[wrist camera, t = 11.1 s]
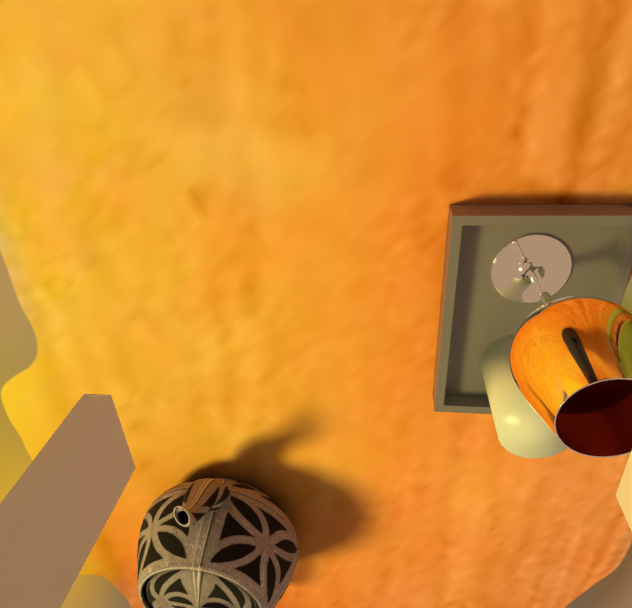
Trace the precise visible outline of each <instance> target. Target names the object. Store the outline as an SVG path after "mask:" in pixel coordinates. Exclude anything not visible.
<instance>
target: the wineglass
mask: <svg viewBox="0 0 632 608" xmlns="http://www.w3.org/2000/svg"><path fill="white" fill-rule="evenodd" d="M571 267H572V261H571V256H570V253H569V251H568V249H567V248H566V247H565V245H564V244H563V243H562V242H560V241H559V240H557V239H556V238H554V237H551V236H548V235H544V234H529V235H524V236H521V237H518V238H516V239H514V240H512V241H510V242H509V243H507V244H506V245H505V246H504V247H503V248H502V249H501V250H500V251H499V252H498V253H497V255H496V256H495V258H494V260H493V263H492V266H491V280H492V283H493V285H494V287H495V289H496V290H497V291H498V293H499V294H501V295H502V296H503V297H505V298H506V299H508V300H511V301H514V302H518V303H533V302H538V301H541V302H542V304H543V305H542V306H540V307H539V308H537V309H536V310H534V311H533V312H532V313H530V314H529V315H528V316H527V317H526V318H525V319H524V320H523V322H522V323H521V324H520V326H519V327H518V329H517V330H516V332H515V334H514V336H513V339H512V342H511V345H510V350H509V366H510V371H511V374H512V377H513V380H514V382H515V384H516V386H517V388H518V390H519V391H520V393H521V394H522V396H523V397H524V399H525V400H526V401H527V403H528V404H529V405H530V406H531V408H532V409H533V410H534V411H535V413H536V414H537V415H538V416H539V417H540V419H541V420H542V421H543V422H544V423H545V424H546V426H547V427H548V428H549V429H550V430H551V431H552V432H553V434H554V435H555V436H556V437H557V438H558V439H559V440H560V442H561V443H562V444H563V445H564V446H566V447H567V448H568V449H570V450H572V451H574V452H576V453H578V454H581V455H585V456H589V457H599V458H606V457H616V456H621V455H625V454H629V453H631V451H632V313H631V312H629V311H628V310H627V309H625V308H624V307H622V306H620V305H619V304H616V303H614V302H612V301H609V300H606V299H603V298H598V297H593V296H569V297H563V298H559V299H556V300H553V299H552V297H551V296H552V295H554V294H555V293H556V292H558V291H559V290H560V289H561V288H562V287H563V285H564V284H565V283H566V281H567V280H568V278H569V275H570V272H571Z"/></svg>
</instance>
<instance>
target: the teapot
mask: <svg viewBox="0 0 632 608" xmlns="http://www.w3.org/2000/svg"><path fill="white" fill-rule="evenodd" d="M297 559H298V539H297V536H296V532H295V529H294V527H293V525H292V523H291V521H290V520H289V518H288V516H287V515H286V514H285V512H284V511H283V510H282V509H281V508H280V507H279V506H278V505H277V504H276V503H275V502H274V501H273V500H272V499H271V498H270V497H269V496H268V495H266V494H265V493H264V492H262V491H261V490H259V489H257V488H255V487H253V486H251V485H249V484H246V483H244V482H240V481H237V480H232V479H226V478H204V479H199V480H194V481H189V482H185V483H182V484H179V485H177V486H174V487H173V488H171V489H169V490H167V491H165V492H164V493H163V494H161V495H160V496H159V497H158V498H157V499H156V500H155V501H154V502H153V503H152V505H151V506H150V507H149V509H148V511H147V513H146V515H145V517H144V519H143V523H142V526H141V530H140V535H139V541H138V553H137V574H138V593H139V597H140V599H141V602H142V604H143V606H144V607H145V608H274V607H275V606H276V604H277V603H278V602H279V600H280V599H281V597H282V595H283V594H284V592H285V590H286V588H287V587H288V585H289V583H290V580H291V578H292V576H293V574H294V571H295V568H296V564H297Z"/></svg>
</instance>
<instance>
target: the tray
mask: <svg viewBox="0 0 632 608" xmlns="http://www.w3.org/2000/svg"><path fill="white" fill-rule="evenodd" d="M529 234H544V235H548V236H551V237H554V238H556V239H557V240H559V241H560V242H562V243H563V244H564V245H565V247H566V248H567V249H568V251H569V253H570V256H571V261H572V267H571V272H570V275H569V278H568V280H567V281H566V283H565V284H564V285H563V287H562V288H561V289H560V290H559V291H558V292H556V293H555V294H554V295H552V296H551V297H552V299H553V300H556V299H559V298H563V297H569V296H593V297H598V298H603V299H606V300H609V301H612V302H614V303H616V304H619V305H620V306H621V303H622V299H623V296H624V292H625V289H626V286H627V282H628V279H629V275H630V272H631V269H632V204H510V205H449V215H448V226H447V237H446V249H445V260H444V271H443V283H442V294H441V306H440V317H439V328H438V340H437V351H436V362H435V374H434V385H433V402H434V411H437V412H459V413H481V414H492V411H491V407H490V403H489V399H488V395H487V391H486V387H485V383H484V379H483V375H482V371H481V366H480V361H481V357H482V354H483V352H484V351H485V349H486V348H487V347H488V346H489V345H490V344H492V343H493V342H494V341H496V340H498V339H500V338H503V337H506V336H512V335H514V334H515V332H516V330H517V329H518V327H519V326H520V324H521V323H522V322H523V320H524V319H525V318H526V317H527V316H528V315H529V314H530V313H532V312H533V311H534V310H536V309H537V308H539V307H540V306H542V305H543V304H542V302H541V301H538V302H533V303H518V302H514V301H511V300H508V299H506V298H505V297H503V296H502V295H501V294H499V293H498V291H497V290H496V289H495V287H494V285H493V283H492V280H491V266H492V263H493V260H494V258H495V256H496V255H497V253H498V252H499V251H500V250H501V249H502V248H503V247H504V246H505V245H506V244H507V243H509V242H510V241H512V240H514V239H516V238H518V237H521V236H524V235H529Z"/></svg>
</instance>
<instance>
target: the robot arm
mask: <svg viewBox="0 0 632 608" xmlns="http://www.w3.org/2000/svg"><path fill="white" fill-rule="evenodd" d="M134 469H135V465H134V462H133V459H132V456H131V453H130V450H129V447H128V444H127V441H126V438H125V435H124V432H123V429H122V426H121V423H120V420H119V418H118V415H117V412H116V409H115V406H114V403H113V400H112V397H111V395H96V394H84V395H83V396H82V397H81V399H80V400H79V401H78V403H77V404H76V405H75V406H74V408H73V409H72V410H71V412H70V413H69V414H68V416H67V417H66V418H65V420H64V421H63V422H62V424H61V425H60V426H59V427H58V429H57V430H56V431H55V433H54V434H53V435H52V437H51V438H50V439H49V441H48V442H47V443H46V445H45V446H44V447H43V448H42V450H41V451H40V452H39V454H38V455H37V456H36V458H35V459H34V460H33V462H32V463H31V464H30V465H29V467H28V468H27V469H26V471H25V472H24V473H23V475H22V476H21V477H20V479H19V480H18V481H17V483H16V484H15V485H14V486H13V488H12V489H11V490H10V492H9V493H8V495H7V496H6V497H5V498H4V500H3V501H2V502H1V504H0V608H61V606H62V604H63V602H64V600H65V598H66V596H67V595H68V593H69V591H70V589H71V587H72V585H73V583H74V581H75V580H76V578H77V576H78V574H79V572H80V570H81V568H82V567H83V565H84V563H85V561H86V559H87V557H88V555H89V553H90V552H91V550H92V548H93V546H94V544H95V542H96V540H97V539H98V537H99V535H100V533H101V531H102V529H103V527H104V525H105V524H106V522H107V520H108V518H109V516H110V514H111V512H112V511H113V509H114V507H115V505H116V503H117V501H118V499H119V497H120V496H121V494H122V492H123V490H124V488H125V486H126V484H127V483H128V481H129V479H130V477H131V475H132V473H133V471H134ZM616 497H617V500H618V502H619V504H620V506H621V508H622V511H623V513H624V515H625V517H626V520H627V522H628V524H629V526H630V528H631V531H632V451H631V454H630V456H629V459H628V462H627V465H626V468H625V470H624V473H623V476H622V479H621V482H620V485H619V487H618V490H617V493H616Z"/></svg>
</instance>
